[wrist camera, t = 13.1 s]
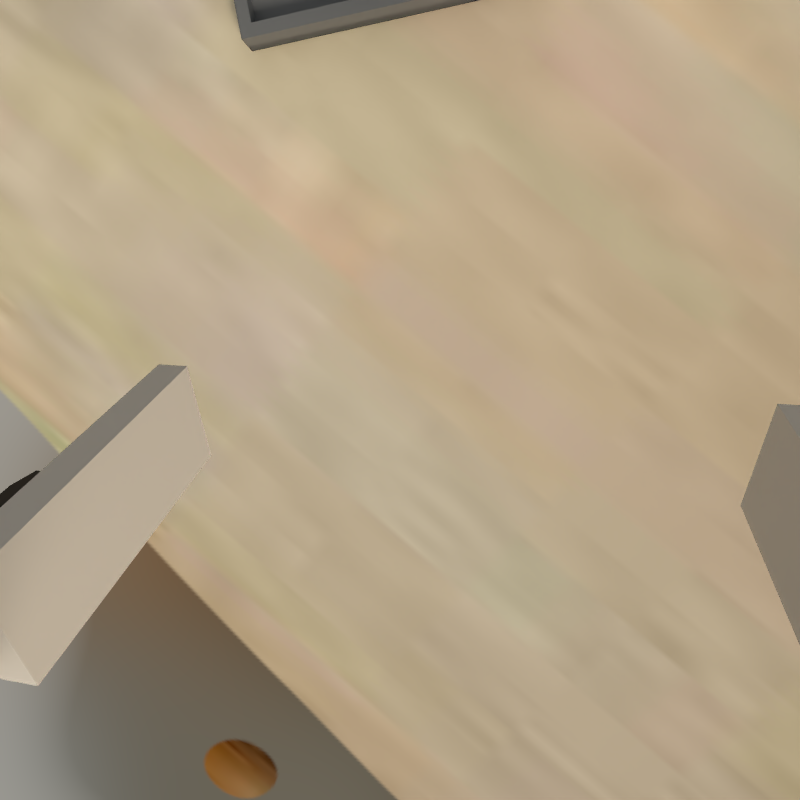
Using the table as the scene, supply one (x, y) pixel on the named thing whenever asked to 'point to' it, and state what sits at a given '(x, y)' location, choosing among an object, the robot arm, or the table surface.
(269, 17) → the tray
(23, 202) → the table surface
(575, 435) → the table surface
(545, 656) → the table surface
